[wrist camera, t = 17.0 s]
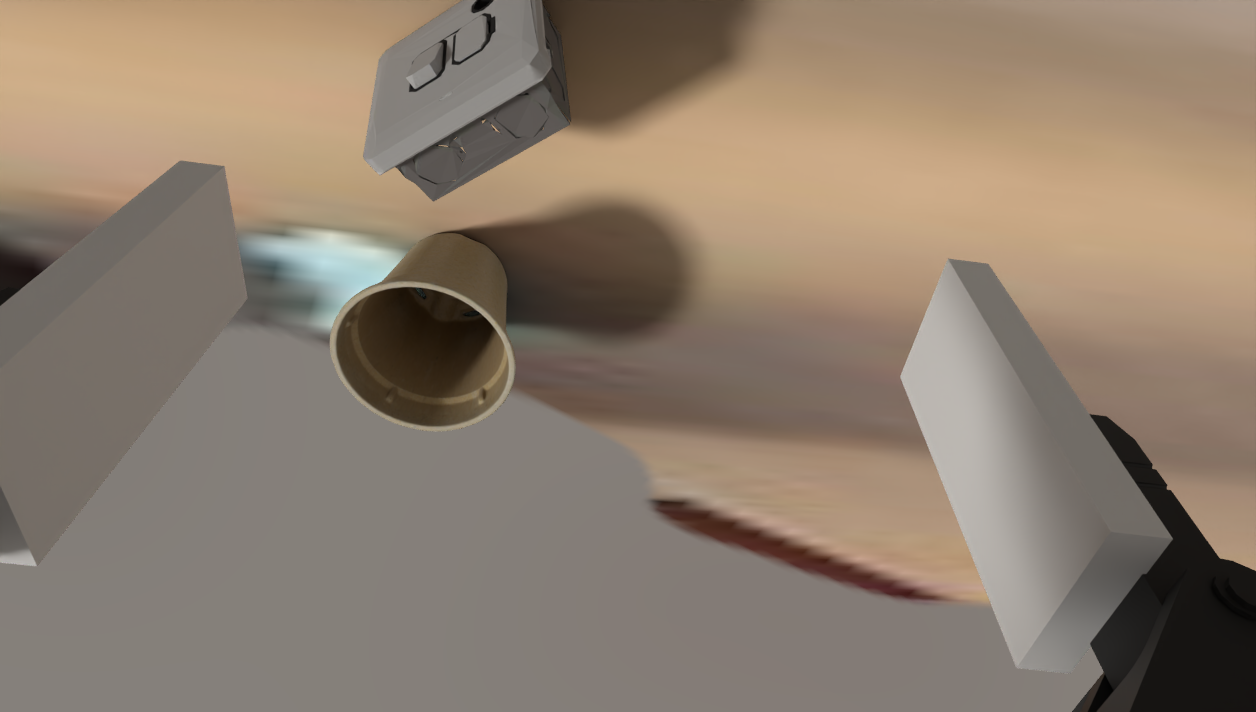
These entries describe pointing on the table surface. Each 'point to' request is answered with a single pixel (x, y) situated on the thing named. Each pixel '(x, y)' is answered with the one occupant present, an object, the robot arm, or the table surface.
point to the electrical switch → (467, 93)
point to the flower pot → (429, 338)
